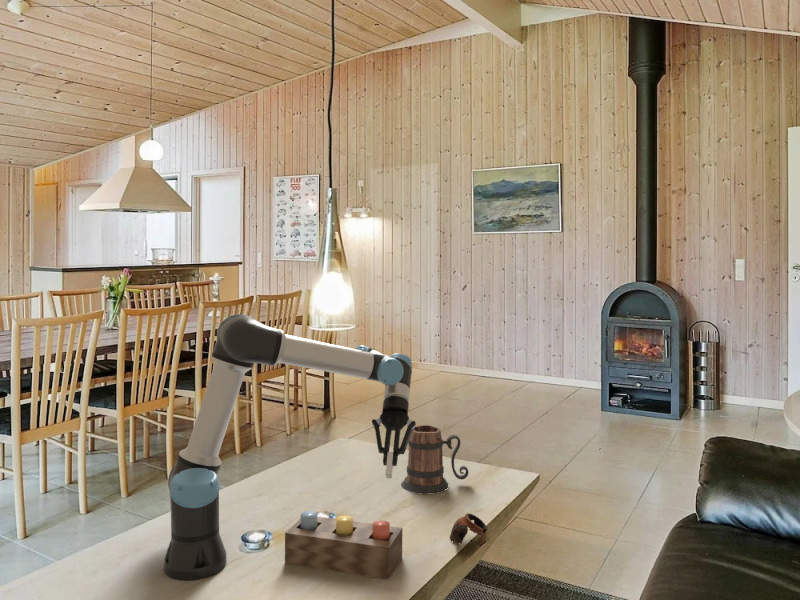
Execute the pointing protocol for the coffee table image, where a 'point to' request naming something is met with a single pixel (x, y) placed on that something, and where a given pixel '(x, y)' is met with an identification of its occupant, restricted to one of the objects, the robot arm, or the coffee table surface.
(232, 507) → the coffee table surface
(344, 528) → the mustard button
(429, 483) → the tankard
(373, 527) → the red button
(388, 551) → the console
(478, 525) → the pottery mug
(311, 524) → the slate button
